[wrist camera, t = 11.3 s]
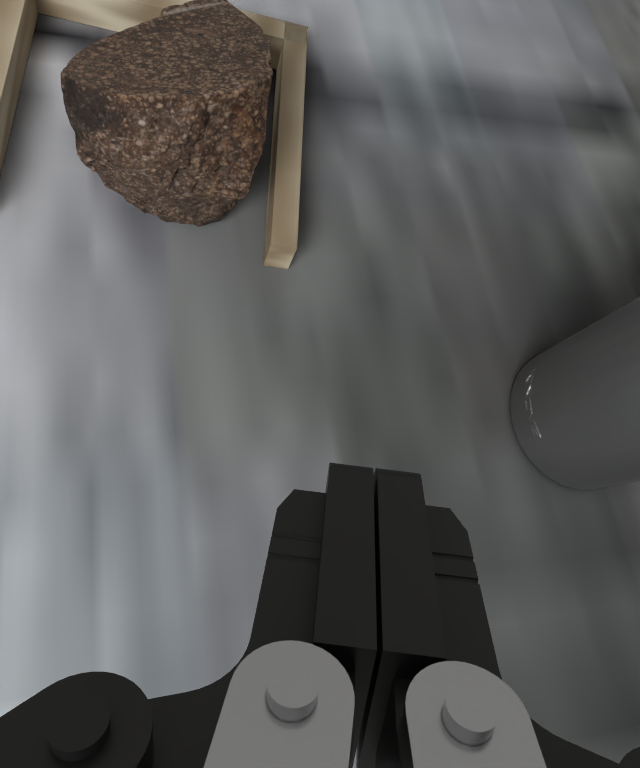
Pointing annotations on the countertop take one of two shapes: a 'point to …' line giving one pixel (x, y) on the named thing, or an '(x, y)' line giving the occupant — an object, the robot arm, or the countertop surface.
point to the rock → (174, 109)
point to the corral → (142, 3)
